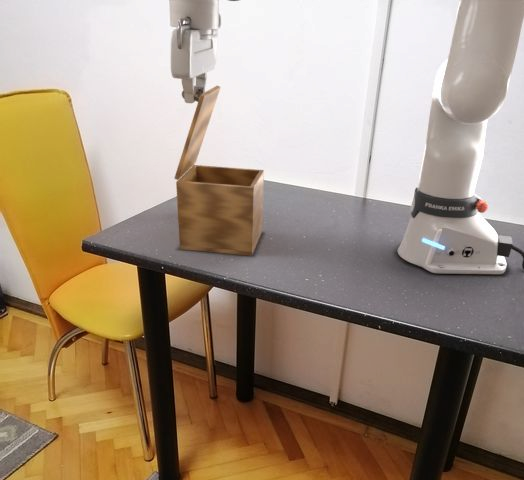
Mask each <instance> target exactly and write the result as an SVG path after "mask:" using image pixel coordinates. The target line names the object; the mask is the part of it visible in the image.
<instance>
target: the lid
mask: <svg viewBox="0 0 524 480" xmlns="http://www.w3.org/2000/svg"><path fill="white" fill-rule="evenodd" d="M221 88H222V87H221V86H220V85H215V86H213V87H211V88H210V89H208V90H205V93H202V92H200V91H199V90H198V88H197V87H196V85H194V92H195V102H197V104H196V107H195V111H194V114H193V117H192V121H191V124H190V126H189V129H188V133H187V137H186V140H185V143H184V146H183V149H182V152H181V156H180V158H179V161H178V165H177V169H176V172H175V175H174V180H175V181H178V180H179V179H180V178H181V177H182V176H183V175H184V174H185V173H186V172H187V171H188V170H189V169H190V168H191V167H192V166H193V165H196V163H197V161H198V157H199V154H200V150H201V148H202V145H203V143H204V139H205V135H206V134H207V130H208V126H209V124H210V121H211V118H212V114H213V112H214V108H215V106H216V103H217V99H218V98H219V97H218V96H219V93H220V90H221ZM196 95H198V96H200V98H199V97H197V96H196ZM181 97H182V98H183V99H184V90H183V89H182V91H181Z"/></svg>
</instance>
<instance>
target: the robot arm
mask: <svg viewBox="0 0 524 480" xmlns="http://www.w3.org/2000/svg"><path fill="white" fill-rule="evenodd" d="M228 1H229V2H238V1H240V0H228ZM168 2H169V3H168V4H169V26H170V27H172V28H175V29H173V30H172V32H171V35H170V73H171V77H172V78H173V79H179V80H181V86H182V91H183V90H184V98H183V100H184V103H186V104H194V103H196V101H195V92H194V86H196V87H197V88H198V90H199V91H200V92H202V93H205V92H206V85H207V80H208V72H210V71H213V70H215V68H216V63H217V55H218V45H219V43H218V42H219V30H218V29H220V28H221V27H222V17H221V14H220V8H219V7H220V6H219V5H220V0H169V1H168ZM523 23H524V0H459V2H458V5H457V10H456V16H455V22H454V27H453V33H452V37H451V43H450V48H449V51H448V56H447V59H445V61H444V62H443V63H442V64H441V65H440V67H439V69H438V70H437V73H436V75H435V78H434V85H433V90H432V98H431V102H430V103H431V104H430V111H429V116H428V122H427V123H428V124H427V131H426V137H425V145H424V146H425V147H424V152H423V158H422V162H421V168H420V173H419V178H418V182H417V183H418V184H417V186H416V187H415V189H414V193H413V195H412V199H411V204H410V212H409V213H410V219H409V222H408V225H407V228H406V231H405V233H404V235H403V238H402V240H401V243H400V244H399V246H398V248H397V254H398V256H399V257H400V258H402V259H403V260H404V261H406V262H407V263H410V264H412V265H415V266H418V267H421V268H423V269H424V270H426V271H428V272H430V273H432V274H443V275H444V274H445V275H446V274H447V275H448V274H449V275H451V274H454V275H455V274H456V275H503V274H504V273H505V272H506V270H507V266H508V265H507V261H506V258H509V257H510V254H511V251H512V250H513V251H514V252H517V253H518V254H519V255H520V256H521V257H522V263H521V267H522V270H524V250H522V249H521V248H519V247H517V246H515V245H514V244H513V237H512V236H507V235H498V233H497V232H496V230H495V229H494V227H492V225H491V224H490V223H489V222H488V221H487V220H486V219H485V218H484V217H483V216H482V215H481V214H483V213H485V212H487V210H488V209H489V206H488V203H487V201H485V200H483V199H482V198H481V196H479V195H478V194H477V193H476V192H475V189H476V185H477V181H478V177H479V174H480V170H481V166H482V161H483V158H484V153H485V151H484V150H485V139H486V131H487V125H488V120H489V119H490V118H492V117H493V116H494V115H496V114H497V113H498V112H499V110H501V108H502V107H503V104H504V103H505V101H506V98H507V95H508V89H509V85H510V84H509V83H510V79H511V76H512V73H513V68H514V64H515V60H516V55H517V51H518V48H519V47H518V46H519V42H520V37H521V31H522V27H523ZM196 96H197V97H199V98H200V96H198V95H196ZM480 213H481V214H480Z"/></svg>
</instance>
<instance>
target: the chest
mask: <svg viewBox="0 0 524 480" xmlns="http://www.w3.org/2000/svg"><path fill="white" fill-rule="evenodd" d="M264 181H265V170H264V169H253V168H241V167H229V166H228V167H227V166H213V165H201V164H194V165H193V166H192V167H191V168H190V169H189V170H188V171H187V172H186V173H185V174H184V175H183V176H182V177H181V178H180V179H178V180H176V182H175V186H176V205H177V223H178V239H179V241H178V242H179V250H185V251H186V250H187V251H195V252H196V251H197V252H206V253H207V252H208V253H218V254H229V255H239V256H240V255H241V256H250V257H252V256H253V254H254V253H255V249H256V247H257V245H258V243H259V240H260V238H261V236H262V233H263V214H264V213H263V208H264V183H265V182H264ZM228 183H229V184H230V185H228Z"/></svg>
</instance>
